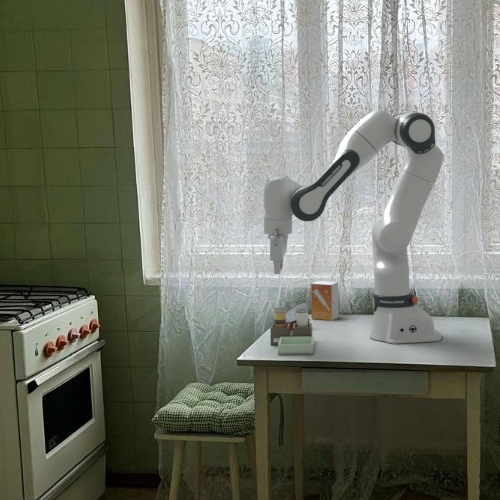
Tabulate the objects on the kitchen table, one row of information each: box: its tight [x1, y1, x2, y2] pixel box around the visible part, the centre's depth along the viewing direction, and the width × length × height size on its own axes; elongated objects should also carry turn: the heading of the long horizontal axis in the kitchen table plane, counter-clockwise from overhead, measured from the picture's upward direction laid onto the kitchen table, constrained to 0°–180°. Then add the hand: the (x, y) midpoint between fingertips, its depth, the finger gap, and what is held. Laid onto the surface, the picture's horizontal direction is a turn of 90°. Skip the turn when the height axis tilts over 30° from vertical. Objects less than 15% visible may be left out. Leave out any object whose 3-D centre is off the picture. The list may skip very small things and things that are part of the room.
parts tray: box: [277, 336, 315, 356], centre depth 254 cm, size 10×10×3 cm
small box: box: [310, 280, 340, 321], centre depth 298 cm, size 8×6×13 cm
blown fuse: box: [273, 306, 287, 327], centre depth 264 cm, size 4×4×8 cm
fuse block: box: [269, 322, 313, 346], centre depth 264 cm, size 13×6×6 cm, turn 84°
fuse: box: [296, 307, 309, 327], centre depth 263 cm, size 4×4×8 cm
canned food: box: [286, 302, 310, 331], centre depth 285 cm, size 11×10×10 cm
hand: (278, 271), depth 262 cm, fingers open, 8 cm apart
